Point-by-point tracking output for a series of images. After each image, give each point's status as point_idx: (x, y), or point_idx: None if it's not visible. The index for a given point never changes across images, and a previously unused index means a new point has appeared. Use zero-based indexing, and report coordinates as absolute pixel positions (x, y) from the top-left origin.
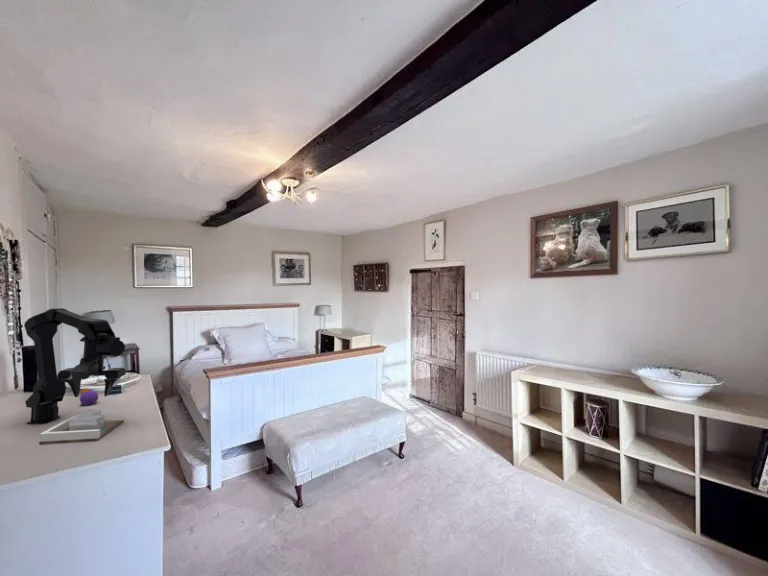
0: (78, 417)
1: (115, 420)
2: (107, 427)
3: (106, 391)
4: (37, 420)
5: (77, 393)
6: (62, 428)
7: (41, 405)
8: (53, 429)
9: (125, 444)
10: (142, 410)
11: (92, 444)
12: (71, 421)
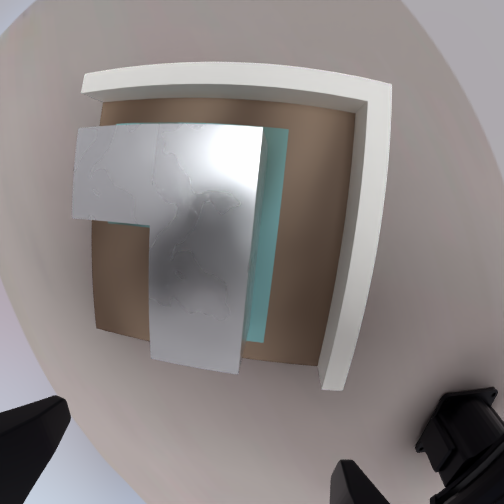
0: (224, 193)
1: (129, 335)
2: (115, 231)
3: (13, 412)
4: (476, 400)
5: (339, 496)
6: (345, 243)
7: (499, 441)
8: (363, 158)
9: (27, 58)
10: (113, 438)
11: (120, 52)
12: (247, 128)
